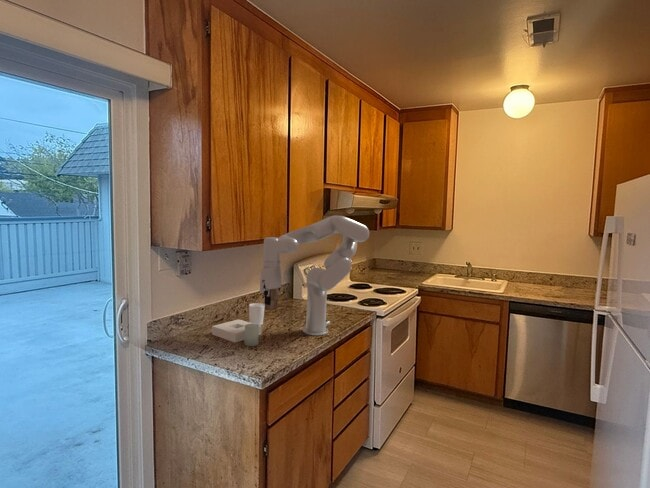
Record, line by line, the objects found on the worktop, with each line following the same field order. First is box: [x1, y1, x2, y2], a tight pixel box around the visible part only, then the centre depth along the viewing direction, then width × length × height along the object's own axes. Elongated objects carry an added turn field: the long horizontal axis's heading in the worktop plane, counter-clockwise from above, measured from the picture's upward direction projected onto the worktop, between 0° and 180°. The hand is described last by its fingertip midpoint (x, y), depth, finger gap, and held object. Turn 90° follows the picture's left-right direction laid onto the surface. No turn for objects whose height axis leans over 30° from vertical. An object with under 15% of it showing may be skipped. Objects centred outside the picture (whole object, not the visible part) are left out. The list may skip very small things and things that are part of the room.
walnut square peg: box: [264, 288, 278, 312], centre depth 179 cm, size 4×4×10 cm
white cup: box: [248, 302, 265, 326], centre depth 199 cm, size 8×8×10 cm
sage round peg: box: [243, 324, 260, 347], centre depth 170 cm, size 6×6×8 cm
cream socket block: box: [211, 318, 263, 343], centre depth 181 cm, size 16×16×4 cm
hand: (271, 303), depth 179 cm, fingers closed on walnut square peg, 4 cm apart
